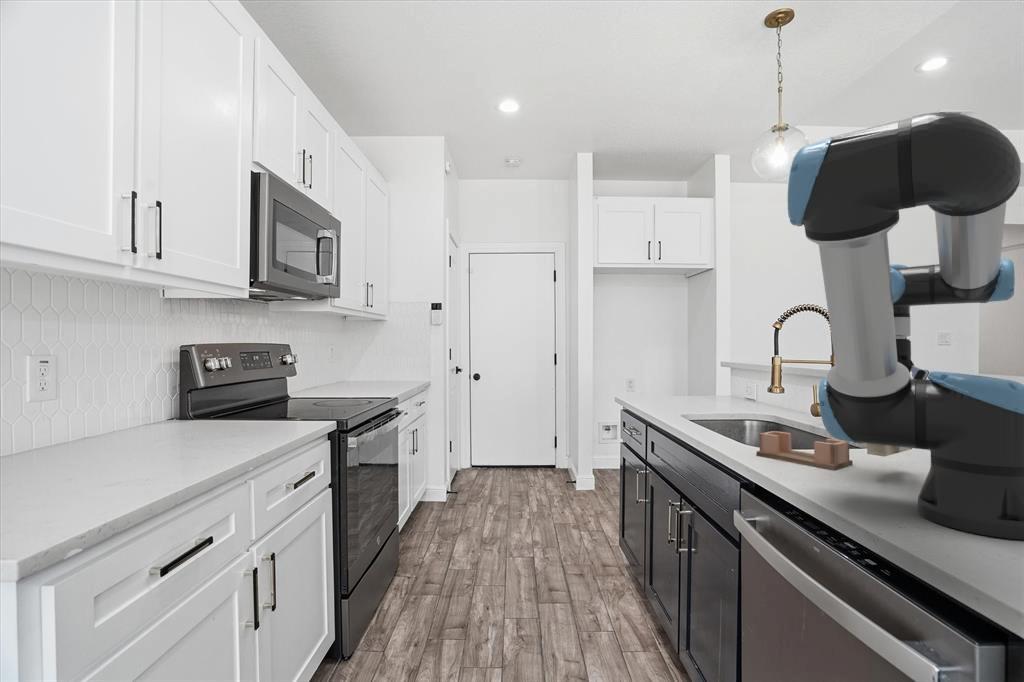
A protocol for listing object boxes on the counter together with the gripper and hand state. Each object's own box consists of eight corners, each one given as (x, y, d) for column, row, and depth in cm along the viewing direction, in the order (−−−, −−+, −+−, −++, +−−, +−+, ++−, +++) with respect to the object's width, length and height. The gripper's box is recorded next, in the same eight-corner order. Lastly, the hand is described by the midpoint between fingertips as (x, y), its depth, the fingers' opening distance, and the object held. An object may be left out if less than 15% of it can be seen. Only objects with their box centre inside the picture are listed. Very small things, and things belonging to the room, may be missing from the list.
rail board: (833, 470, 109) (833, 465, 109) (756, 455, 124) (756, 451, 124) (852, 464, 113) (852, 460, 114) (775, 451, 129) (775, 447, 129)
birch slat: (884, 456, 98) (883, 426, 98) (867, 453, 101) (866, 424, 101) (912, 448, 106) (911, 421, 106) (895, 446, 108) (895, 419, 108)
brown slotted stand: (835, 465, 109) (834, 445, 109) (759, 451, 124) (759, 433, 124) (849, 460, 113) (849, 441, 113) (774, 447, 128) (774, 430, 128)
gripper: (942, 337, 99) (944, 453, 98) (853, 339, 113) (855, 441, 112) (928, 336, 95) (930, 457, 94) (838, 338, 109) (839, 444, 108)
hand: (889, 448), depth 103 cm, fingers closed on birch slat, 3 cm apart
